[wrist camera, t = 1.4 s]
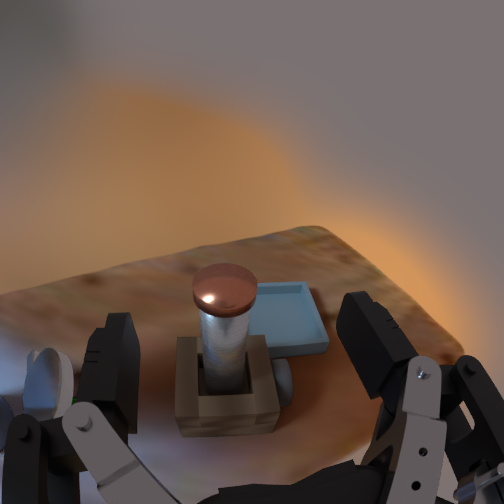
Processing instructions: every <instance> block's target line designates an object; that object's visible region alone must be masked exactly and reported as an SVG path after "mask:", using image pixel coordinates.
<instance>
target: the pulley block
mask: <svg viewBox="0 0 504 504" xmlns="http://www.w3.org/2000/svg"><path fill="white" fill-rule="evenodd" d="M292 396H293V383H292V375H291V370H290V366H289V364H288V362H287V360H286V359H275V360H270V358H269V353H268V348H267V343H266V339H265V334H264V335H247V344H246V354H245V365H244V375H243V385H242V392H241V394H240V395H220V396H209V395H208V393H207V391H206V383H205V373H204V363H203V352H202V340H201V337H177V348H176V374H175V419H176V421H177V424H178V427H179V429H180V432H181V434H182V437H219V436H237V435H250V434H261V433H270V432H273V430H274V428H275V425H276V423H277V420H278V417H279V415H280V412H281V409H280V407H281V406H289V405H290V404H291V402H292Z"/></svg>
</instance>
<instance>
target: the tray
mask: <svg viewBox="0 0 504 504" xmlns="http://www.w3.org/2000/svg"><path fill="white" fill-rule="evenodd" d="M257 284H258V285H257V295H256V301H255V304H254V305H253V307H252V308H251V309H250V312H249V323H248V333H247V335H264V334H265V339H266V343H267V348H268V353H269V358H280V357H291V356H301V355H310V354H318V353H325V352H326V350H327V347H328V345H329V343H330V340H329V338H328V335H327V333H326V330H325V328H324V325H323V322H322V320H321V317H320V315H319V312H318V310H317V307H316V305H315V303H314V300H313V298H312V295H311V293H310V290H309V288H308V285H307V283H306V281H304V282H279V283H257Z"/></svg>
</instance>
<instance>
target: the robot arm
mask: <svg viewBox="0 0 504 504" xmlns="http://www.w3.org/2000/svg"><path fill="white" fill-rule="evenodd" d="M336 330H337V334H338V336H339V338H340V340H341V342H342V344H343V346H344V348H345V350H346V352H347V354H348V356H349V358H350V360H351V361H352V363H353V365H354V367H355V369H356V371H357V373H358V375H359V377H360V379H361V381H362V383H363V385H364V387H365V389H366V391H367V393H368V395H369V397H370V399H374V398H377V397H380V396H381V397H382V399H383V402H382V403H381V406H380V410H379V415H378V419H377V422H376V426H375V430H374V434H373V437H372V441H371V444H370V446H369V448H368V450H367V451H366V453H365V455H364V457H363V459H362V462H361V464H360V465H355V463H354V461H353V459H352V460H349V461H346V462H343V463H340V464H337V465H334V466H330V467H327V468H323V469H321V470H319V471H318V472H316V473H314V474H312V475H310V476H308V477H306V478H304V479H303V480H301V481H299V482H297V483H294V484H291V485H267V484H249V485H242V486H234V487H225V488H218V490H219V493H218V494H215V495H212V496H210V497H208V498H206V499H204V500H202V501H200V502H199V503H197V504H454V503H452V502H449V501H447V500H444V499H442V498H440V497H438V496H436V495H437V490H438V485H439V480H440V475H441V469H442V463H443V456H444V450H445V452H446V455H447V457H448V459H449V462H450V464H451V466H452V469H453V471H454V474H455V476H456V478H457V481H458V486H457V489H456V490H455V491H454V493H453V497H454V499H455V500H458V504H504V400H503V398H502V397H501V395H500V393H499V392H498V390H497V388H496V387H495V385H494V383H493V382H492V380H491V378H490V377H489V375H488V374H487V373H486V371H485V369H484V368H483V366H482V365H481V363H480V362H479V361H478V360H477V359H476V358H474V357H472V356H469V355H464V356H461V357H460V358H459V359H458V360H457V362H456V363H455V365H438V364H437V363H436V362H435V361H434V360H433V359H431V358H429V357H426V356H419V355H418V353H417V352H416V350H415V349H414V347H413V346H412V344H411V343H410V342H409V340H408V339H407V337H406V336H405V334H404V333H403V331H402V330H401V329H400V328H399V326H398V324H397V323H396V322H395V320H393V317H392V316H391V315H390V313H389V312H388V310H387V309H386V308H384V307H383V306H382V305H380V304H379V303H378V302H373V301H372V299H371V298H370V296H369V295H368V294H367V292H365V291H359V292H352V293H346V294H345V296H344V298H343V302H342V305H341V308H340V312H339V315H338V318H337V321H336ZM139 368H140V345H139V340H138V337H137V334H136V331H135V328H134V325H133V321H132V318H131V315H130V313H129V312H125V313H109V314H108V316H107V320H106V325H105V328H96V330H95V331H94V332H93V334H92V335H91V336H90V338H89V340H88V344H87V349H86V353H85V357H84V363H83V366H82V371H81V376H80V381H79V386H78V392H77V397H76V401H75V404H73V405H71V406H70V407H69V408H68V409H67V410H66V411H65V413H64V415H63V416H61V417H58V418H54V419H49V420H44V421H40V422H38V421H37V420H36V419H35V418H34V417H33V416H31V415H28V414H21V415H18V416H16V417H15V418H14V419H13V415H12V411H11V409H10V407H9V405H8V404H7V402H6V401H5V400H4V399H3V398H2V397H1V396H0V450H1V449H3V448H4V447H5V454H4V464H3V478H2V504H80V487H79V472H83V471H89V472H90V474H91V475H92V477H93V478H94V480H95V481H96V483H97V489H98V491H99V493H100V495H101V496H102V498H103V499H104V500H105V502H106V503H107V504H182V503H181V502H180V501H179V500H178V499H177V498H176V497H175V496H174V495H172V494H171V493H170V492H169V491H168V490H167V489H166V488H165V487H164V486H163V485H162V484H161V483H160V482H159V480H158V479H157V478H156V477H155V476H154V475H153V474H152V473H151V472H150V471H149V470H148V468H147V467H146V466H145V465H144V464H143V463H142V462H141V460H140V459H139V458H138V457H137V456H136V454H135V453H134V452H133V451H132V450H131V448H130V447H129V446H128V433H129V434H137V409H138V385H139ZM462 401H464V402H465V404H466V406H467V408H468V410H469V411H470V413H471V415H472V417H473V419H474V422H475V426H474V429H473V430H472V429H471V427H470V425H469V423H468V421H467V419H466V417H465V415H464V414H463V411H462V410H461V408H460V406H459V405H460V404H461V402H462Z"/></svg>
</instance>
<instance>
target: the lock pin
mask: <svg viewBox="0 0 504 504" xmlns="http://www.w3.org/2000/svg"><path fill="white" fill-rule="evenodd" d="M257 285H258V284H257V280H256V278H255V276H254V275H253V274H252V273H251V272H250V271H249V270H247V269H246V268H243V267H241V266H238V265H234V264H227V263H221V264H214V265H210V266H207V267H205V268H203V269H201V270H200V271H199V272H198V273H197V274H196V275H195V276H194V278H193V281H192V289H193V299H194V302H195V304H196V306H197V307H198V308H199V314H200V328H201V340H202V352H203V363H204V373H205V383H206V391H207V393H208V395H209V396H220V395H240V394H241V392H242V385H243V375H244V365H245V354H246V344H247V333H248V323H249V312H250V309H251V308H252V307H253V305H254V304H255V301H256V295H257Z"/></svg>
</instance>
